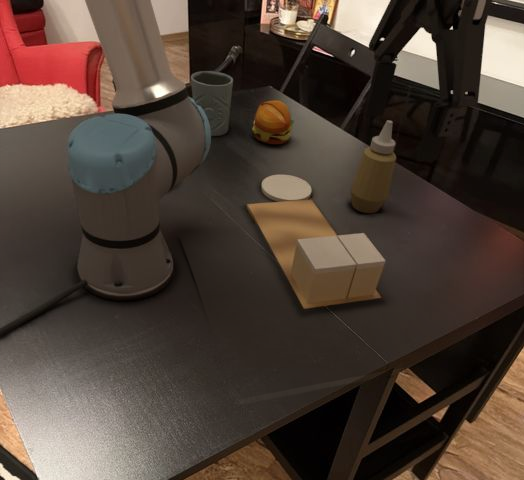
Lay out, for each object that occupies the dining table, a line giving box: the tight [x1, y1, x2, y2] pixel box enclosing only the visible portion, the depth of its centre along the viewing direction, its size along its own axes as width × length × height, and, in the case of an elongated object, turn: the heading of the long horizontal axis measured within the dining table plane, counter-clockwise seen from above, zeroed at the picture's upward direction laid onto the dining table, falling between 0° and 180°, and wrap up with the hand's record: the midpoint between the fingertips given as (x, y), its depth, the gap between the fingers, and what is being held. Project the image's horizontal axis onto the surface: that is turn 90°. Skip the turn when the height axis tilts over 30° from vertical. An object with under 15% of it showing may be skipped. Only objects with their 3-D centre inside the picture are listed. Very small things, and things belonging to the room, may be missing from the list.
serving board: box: [246, 199, 383, 309], centre depth 89 cm, size 32×14×1 cm, turn 18°
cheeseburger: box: [251, 99, 295, 145], centre depth 119 cm, size 10×11×10 cm
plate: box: [260, 174, 313, 202], centre depth 104 cm, size 11×11×1 cm
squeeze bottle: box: [349, 119, 397, 214], centre depth 97 cm, size 8×8×18 cm
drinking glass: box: [190, 70, 234, 137], centre depth 118 cm, size 10×10×12 cm
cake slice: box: [337, 232, 386, 298], centre depth 81 cm, size 8×5×7 cm, turn 18°
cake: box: [291, 236, 356, 303], centre depth 79 cm, size 8×7×7 cm
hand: (397, 136), depth 63 cm, fingers open, 13 cm apart
